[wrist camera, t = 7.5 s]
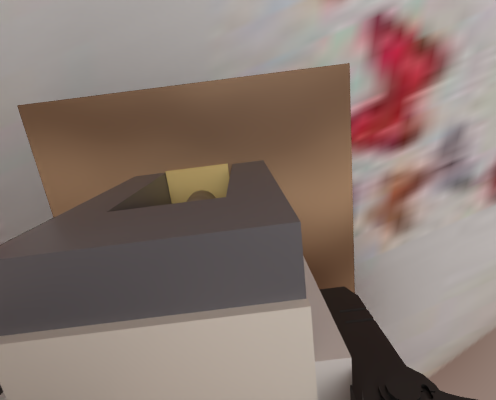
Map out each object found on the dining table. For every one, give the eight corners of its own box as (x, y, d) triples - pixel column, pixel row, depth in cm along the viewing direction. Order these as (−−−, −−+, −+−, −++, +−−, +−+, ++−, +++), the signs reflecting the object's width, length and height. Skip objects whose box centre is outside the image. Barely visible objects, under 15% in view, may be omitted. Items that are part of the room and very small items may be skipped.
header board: (45, 107, 12) (-151, 92, 6) (335, 70, 11) (432, 17, 6) (125, 376, 15) (55, 531, 9) (345, 350, 15) (409, 490, 9)
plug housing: (134, 176, 11) (-51, 271, 4) (263, 159, 11) (304, 226, 4) (178, 362, 13) (109, 625, 6) (284, 349, 13) (332, 599, 6)
